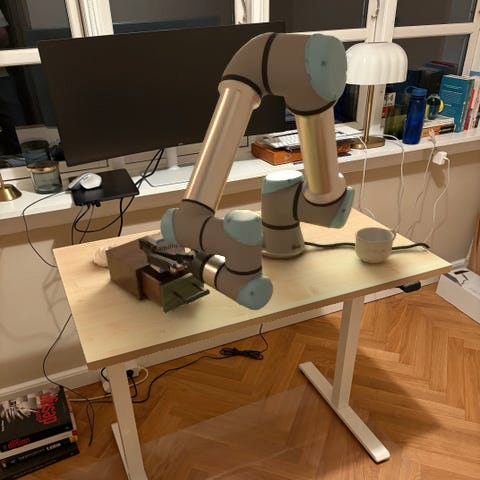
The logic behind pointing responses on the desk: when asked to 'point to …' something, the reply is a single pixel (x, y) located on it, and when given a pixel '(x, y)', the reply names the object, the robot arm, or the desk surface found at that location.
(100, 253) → the rose
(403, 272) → the desk surface
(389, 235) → the teacup
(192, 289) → the drawer
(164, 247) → the medicine box
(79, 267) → the desk surface
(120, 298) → the desk surface
